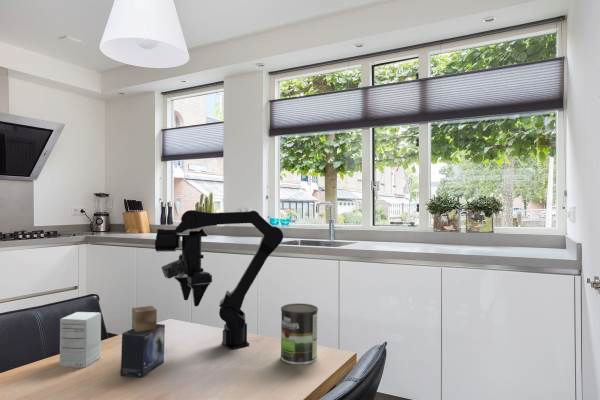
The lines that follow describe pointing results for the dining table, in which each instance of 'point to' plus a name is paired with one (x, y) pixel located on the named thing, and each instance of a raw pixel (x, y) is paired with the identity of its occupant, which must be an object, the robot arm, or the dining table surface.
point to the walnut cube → (144, 318)
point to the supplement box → (80, 339)
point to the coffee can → (299, 334)
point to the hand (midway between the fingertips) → (190, 303)
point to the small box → (142, 351)
